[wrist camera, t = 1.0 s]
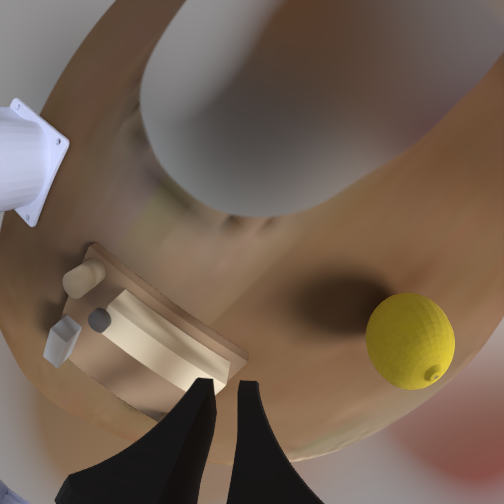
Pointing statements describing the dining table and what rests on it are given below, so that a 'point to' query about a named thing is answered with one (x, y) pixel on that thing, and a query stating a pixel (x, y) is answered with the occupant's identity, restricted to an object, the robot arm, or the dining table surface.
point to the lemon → (410, 341)
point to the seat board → (108, 353)
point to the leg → (158, 343)
